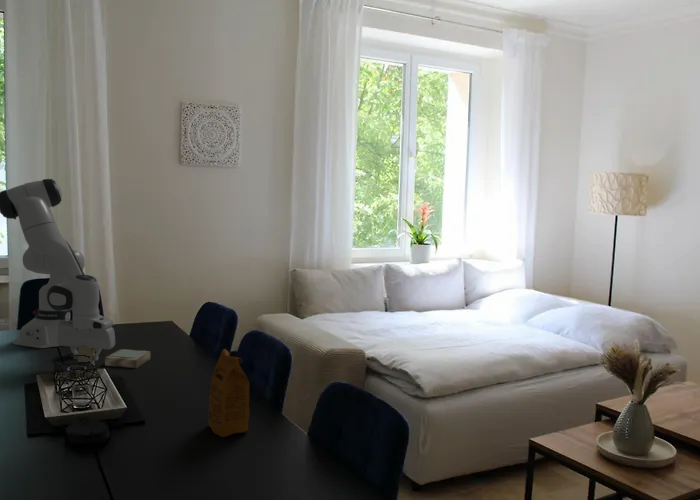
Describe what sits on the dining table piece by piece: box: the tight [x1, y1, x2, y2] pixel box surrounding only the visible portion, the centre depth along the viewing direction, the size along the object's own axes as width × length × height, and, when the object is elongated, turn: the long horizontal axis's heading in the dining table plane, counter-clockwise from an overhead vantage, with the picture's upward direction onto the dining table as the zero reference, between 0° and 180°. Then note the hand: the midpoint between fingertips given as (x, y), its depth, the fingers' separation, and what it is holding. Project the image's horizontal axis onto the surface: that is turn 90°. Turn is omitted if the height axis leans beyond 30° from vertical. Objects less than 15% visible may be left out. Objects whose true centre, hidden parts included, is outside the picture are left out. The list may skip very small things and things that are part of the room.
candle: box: [77, 344, 96, 366], centre depth 232 cm, size 6×6×10 cm
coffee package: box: [208, 348, 250, 438], centre depth 183 cm, size 10×12×22 cm
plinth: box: [104, 348, 151, 369], centre depth 243 cm, size 12×12×3 cm
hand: (86, 359), depth 232 cm, fingers closed on candle, 5 cm apart
